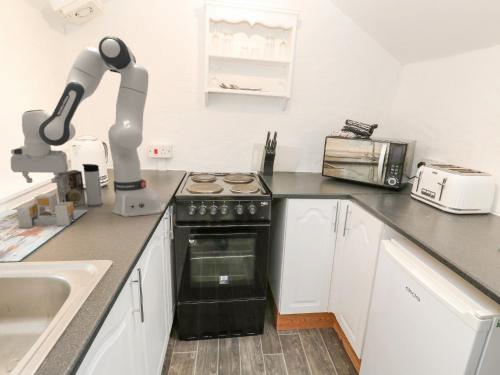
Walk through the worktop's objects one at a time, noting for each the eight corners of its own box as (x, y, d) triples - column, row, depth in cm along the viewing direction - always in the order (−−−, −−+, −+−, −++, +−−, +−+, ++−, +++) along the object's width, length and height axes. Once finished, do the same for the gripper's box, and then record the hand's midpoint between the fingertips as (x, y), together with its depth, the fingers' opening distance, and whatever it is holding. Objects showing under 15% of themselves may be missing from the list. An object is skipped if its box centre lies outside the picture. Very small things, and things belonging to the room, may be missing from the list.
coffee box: (78, 201, 146) (74, 169, 142) (86, 203, 142) (82, 171, 138) (59, 206, 138) (54, 172, 134) (66, 208, 135) (62, 174, 131)
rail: (76, 220, 121) (74, 201, 119) (70, 225, 115) (68, 206, 113) (28, 222, 118) (25, 202, 116) (19, 227, 112) (16, 207, 110)
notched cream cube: (42, 211, 130) (40, 194, 128) (58, 211, 132) (56, 193, 130) (36, 215, 125) (33, 197, 123) (52, 215, 126) (50, 197, 124)
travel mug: (85, 204, 141) (80, 163, 136) (99, 202, 146) (95, 162, 141) (89, 207, 137) (84, 165, 132) (104, 205, 141) (100, 163, 136)
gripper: (68, 149, 127) (71, 181, 130) (15, 148, 123) (19, 180, 126) (62, 151, 121) (66, 184, 124) (6, 150, 117) (10, 184, 120)
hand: (42, 182), depth 125 cm, fingers open, 8 cm apart
